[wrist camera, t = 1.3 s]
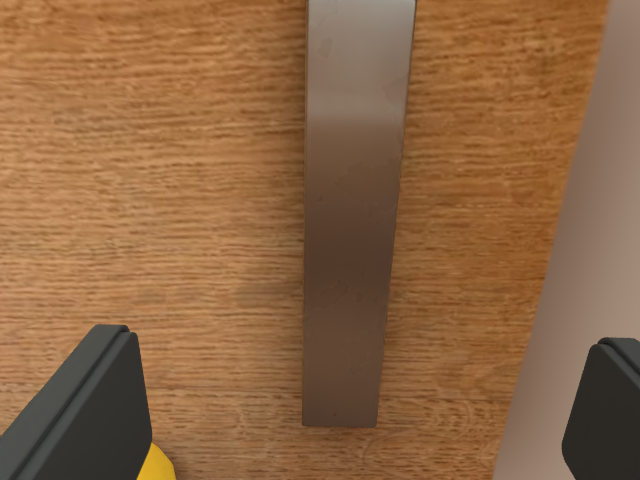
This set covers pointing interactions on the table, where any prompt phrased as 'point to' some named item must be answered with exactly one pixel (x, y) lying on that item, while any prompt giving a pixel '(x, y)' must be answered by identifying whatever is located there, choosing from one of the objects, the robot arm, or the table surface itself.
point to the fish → (156, 466)
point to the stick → (351, 199)
